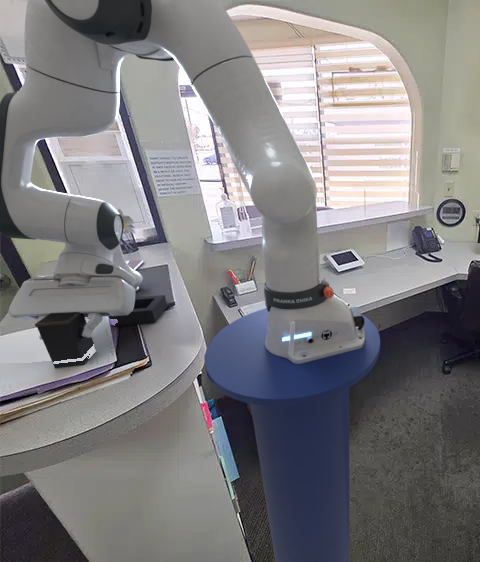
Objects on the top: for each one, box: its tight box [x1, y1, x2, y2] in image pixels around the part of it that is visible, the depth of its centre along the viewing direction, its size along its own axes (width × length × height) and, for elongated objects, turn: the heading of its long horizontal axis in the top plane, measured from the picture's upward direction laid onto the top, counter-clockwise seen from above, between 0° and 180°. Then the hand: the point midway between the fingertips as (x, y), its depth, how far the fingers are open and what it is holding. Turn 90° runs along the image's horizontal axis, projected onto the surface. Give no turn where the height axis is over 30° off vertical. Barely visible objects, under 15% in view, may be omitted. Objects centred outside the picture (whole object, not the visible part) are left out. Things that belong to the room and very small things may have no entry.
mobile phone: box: [125, 259, 144, 271], centre depth 111 cm, size 8×1×15 cm
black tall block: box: [34, 312, 95, 369], centre depth 61 cm, size 5×5×10 cm
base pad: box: [109, 294, 168, 327], centre depth 80 cm, size 9×9×4 cm
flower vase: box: [113, 208, 144, 293], centre depth 90 cm, size 13×18×25 cm
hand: (65, 338), depth 61 cm, fingers closed on black tall block, 5 cm apart
